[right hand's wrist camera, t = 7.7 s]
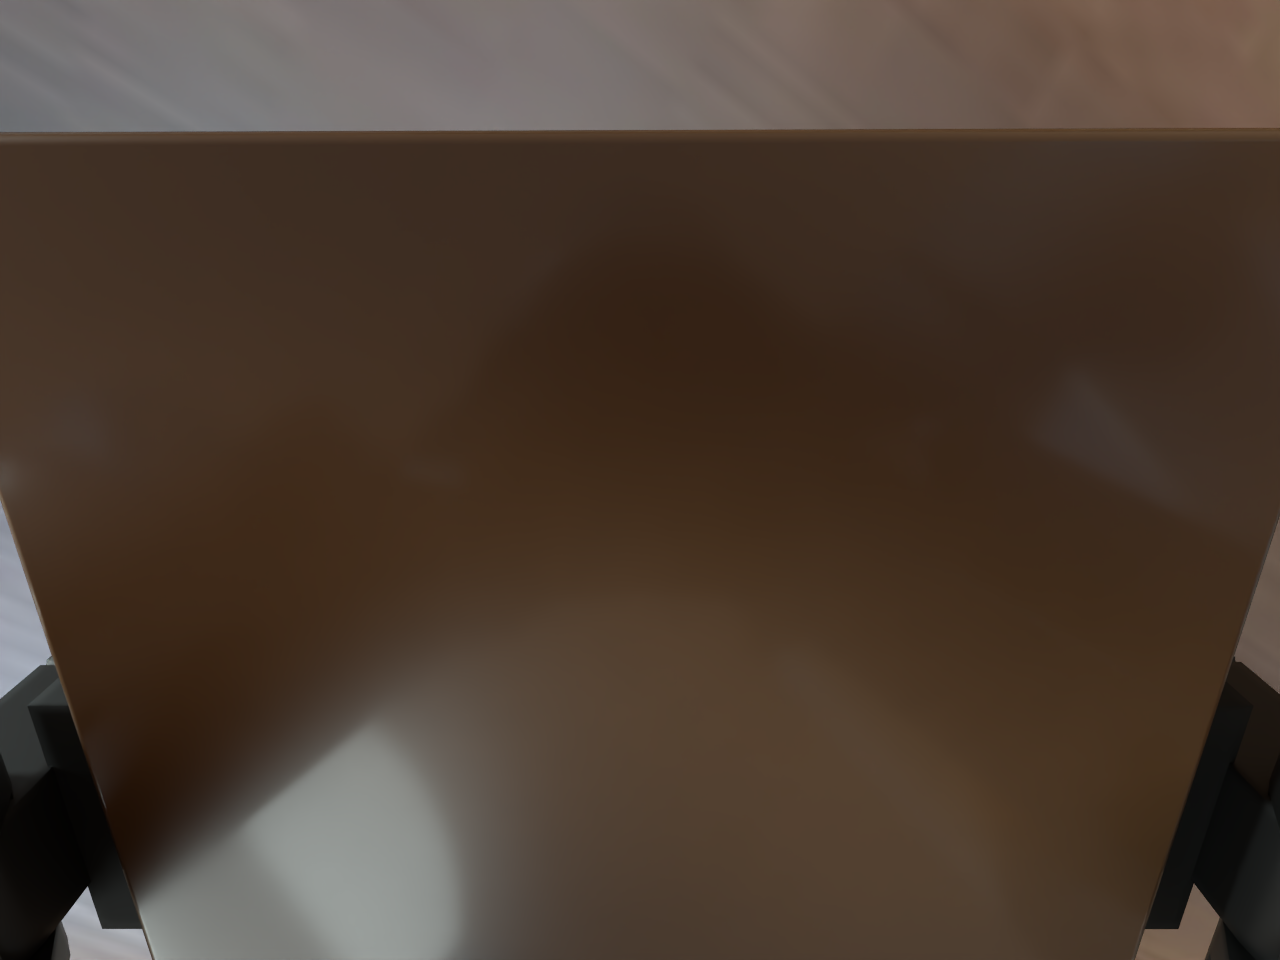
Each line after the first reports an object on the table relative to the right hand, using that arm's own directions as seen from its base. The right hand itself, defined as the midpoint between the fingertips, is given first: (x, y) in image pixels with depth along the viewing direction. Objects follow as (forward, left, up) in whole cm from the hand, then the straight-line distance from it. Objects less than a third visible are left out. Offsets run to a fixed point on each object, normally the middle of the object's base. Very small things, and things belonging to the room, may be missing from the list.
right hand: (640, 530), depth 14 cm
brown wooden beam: (-12, +21, -1) cm, 24 cm away
